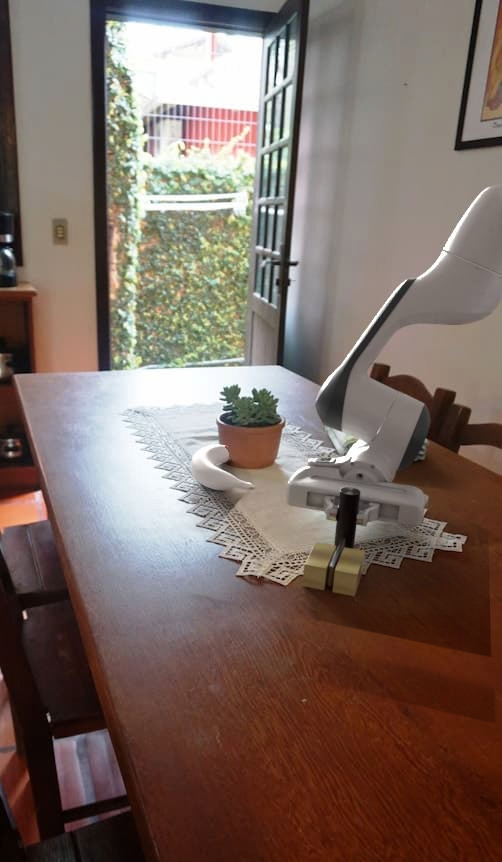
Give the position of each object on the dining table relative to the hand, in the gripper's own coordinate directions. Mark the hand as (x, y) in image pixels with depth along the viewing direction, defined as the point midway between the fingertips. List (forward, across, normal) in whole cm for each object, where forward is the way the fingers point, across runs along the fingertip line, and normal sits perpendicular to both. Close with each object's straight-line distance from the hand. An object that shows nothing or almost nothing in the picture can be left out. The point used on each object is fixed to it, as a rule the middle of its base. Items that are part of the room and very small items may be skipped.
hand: (346, 518), depth 95 cm
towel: (-57, +3, -8) cm, 57 cm away
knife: (+4, 0, -6) cm, 7 cm away
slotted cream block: (0, 0, -7) cm, 8 cm away
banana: (-27, +26, -8) cm, 38 cm away
